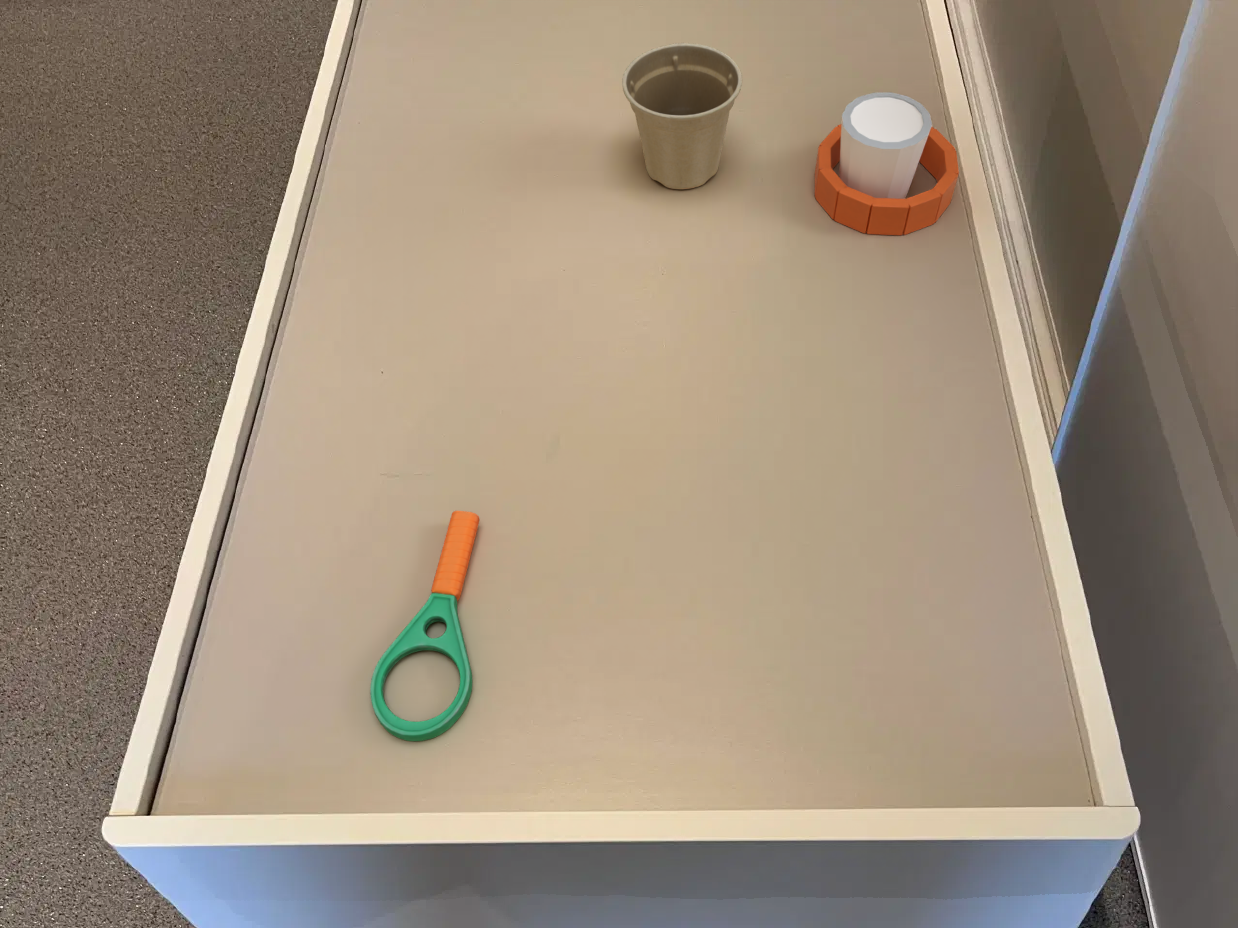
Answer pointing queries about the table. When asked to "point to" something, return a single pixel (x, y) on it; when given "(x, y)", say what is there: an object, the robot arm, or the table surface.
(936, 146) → the ring
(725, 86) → the flower pot
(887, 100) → the white cylinder
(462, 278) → the table surface
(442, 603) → the magnifying glass
